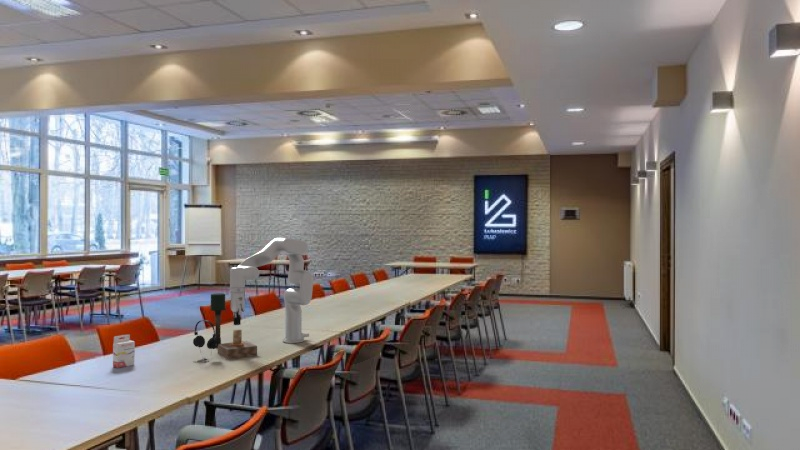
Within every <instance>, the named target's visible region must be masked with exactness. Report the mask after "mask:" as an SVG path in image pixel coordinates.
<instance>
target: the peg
mask: <svg viewBox="0 0 800 450" xmlns="http://www.w3.org/2000/svg"><path fill="white" fill-rule="evenodd" d="M242 331H243V330H242V329H241V328H240V329H238V328H237V329H233V330H232V342H233V343H232V342H230V343H231V346H242V345H244V343H243V342H242V341H243V340H242V339H243V338H242V336H243V335H242V334H243V333H242Z"/></svg>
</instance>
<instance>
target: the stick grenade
mask: <svg viewBox="0 0 800 450" xmlns="http://www.w3.org/2000/svg"><path fill="white" fill-rule="evenodd" d="M226 310H227V308H226V294H225V293H224V292H222V293H219V292H218V293H217V292H216V293H210V309H209V311H212V312H214V324H215V326H214V329H215V330H216V337H215V338H216V339H217V340H218V341H219V344H222V339H221V321H222V312H223V311H226ZM216 349H218V346H217V348H216Z"/></svg>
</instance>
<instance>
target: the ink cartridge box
mask: <svg viewBox="0 0 800 450" xmlns="http://www.w3.org/2000/svg"><path fill="white" fill-rule="evenodd" d="M130 336H131V334H121V335H115V336H113V344H112V367H114V368H116V369H119V368H126V367H129V366H134V365H135V351H136V348H135V347H136V346H135V345H136V343H135V342H136V341H134V340H131V337H130Z"/></svg>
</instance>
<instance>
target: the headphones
mask: <svg viewBox="0 0 800 450" xmlns="http://www.w3.org/2000/svg"><path fill="white" fill-rule="evenodd" d="M201 322H206V323H208V324H209V325H210V326H211V327H212V330H213V333H212V337H210V338H209V339H208V340H207V343H206V339H205V337H204V336H203V335H199V332H198V325H199V323H201ZM193 335H194V336H196V337H194V338H193V340H192V343H193V346H194V347H197V348H202V347H204V346H205V345H206V348H207V349H209V350H210V351H211V353H210V355H212V353H213V352H212V351H213V350H215V349H218V348H217V346H218V344H219V341H218V340H217V339H216V338H215V337H216V330H215V326H214V324H213V323H212V322H211V321H210V320H209V319H208V320H207V319H203V320H198V322H196V324H195V327H194V333H193ZM200 352H202V351H201V349H200ZM206 361H208V358H205V357H203V361H201V359H200V360H198V362H201V363H203V364H205V363H206ZM192 362H193V363H195V361H192Z"/></svg>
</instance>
